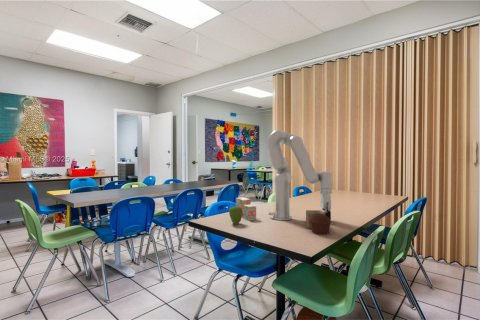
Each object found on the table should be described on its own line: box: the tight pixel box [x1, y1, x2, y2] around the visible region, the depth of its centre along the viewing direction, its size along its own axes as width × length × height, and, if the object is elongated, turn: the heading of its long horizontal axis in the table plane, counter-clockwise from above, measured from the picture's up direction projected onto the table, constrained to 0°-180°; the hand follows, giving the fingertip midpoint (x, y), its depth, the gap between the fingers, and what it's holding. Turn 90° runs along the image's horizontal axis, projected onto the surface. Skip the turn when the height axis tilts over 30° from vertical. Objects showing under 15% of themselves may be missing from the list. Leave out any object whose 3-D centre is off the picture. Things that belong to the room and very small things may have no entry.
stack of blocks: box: [235, 196, 257, 221], centre depth 190 cm, size 21×6×12 cm, turn 22°
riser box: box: [305, 209, 324, 230], centre depth 162 cm, size 9×9×9 cm
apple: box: [228, 205, 243, 225], centre depth 171 cm, size 9×8×12 cm
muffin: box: [310, 214, 333, 236], centre depth 150 cm, size 12×11×10 cm
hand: (326, 217), depth 174 cm, fingers open, 9 cm apart
